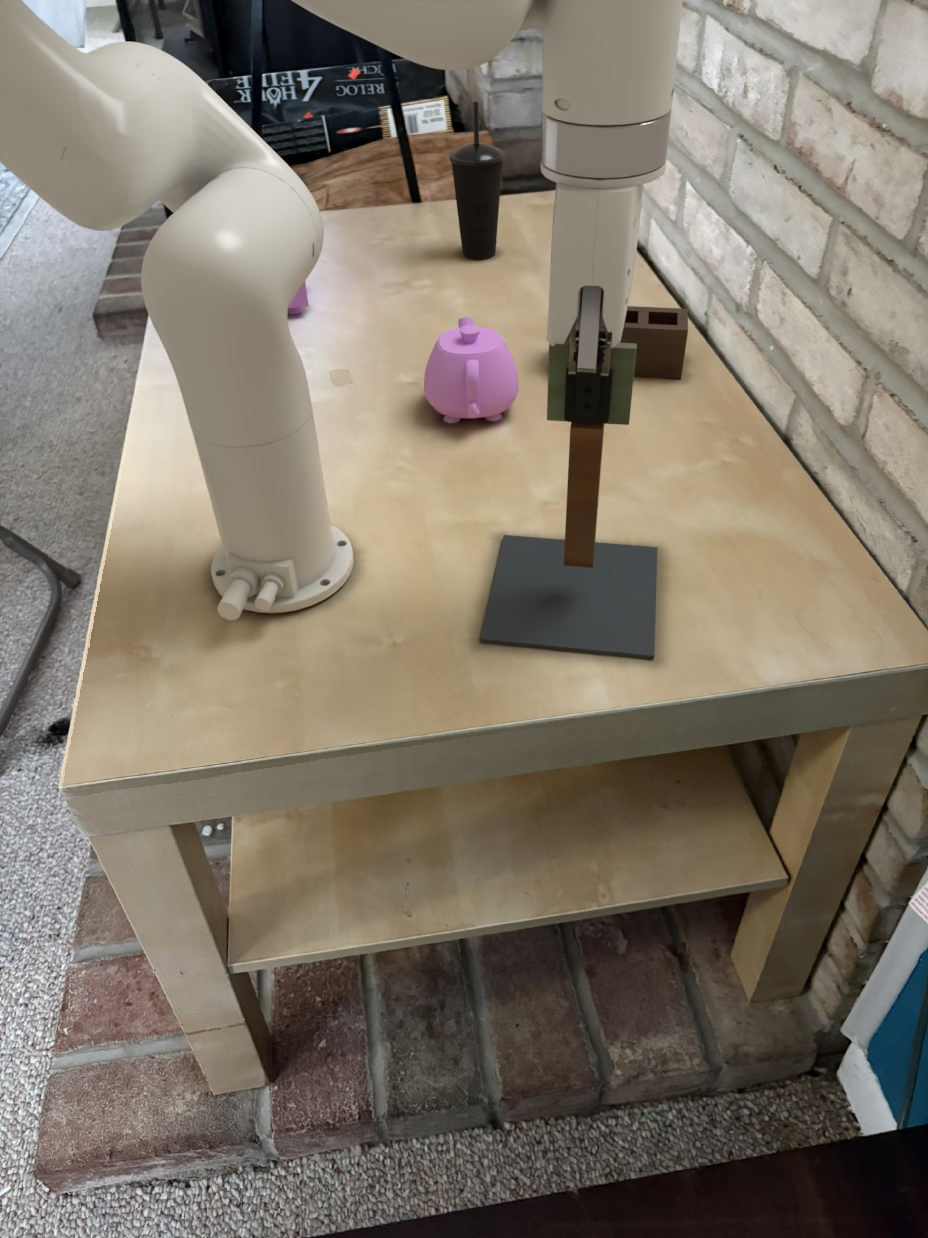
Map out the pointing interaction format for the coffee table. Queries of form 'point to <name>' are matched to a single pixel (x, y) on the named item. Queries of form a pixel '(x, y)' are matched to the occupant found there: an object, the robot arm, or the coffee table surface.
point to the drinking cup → (477, 194)
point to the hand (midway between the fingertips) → (587, 414)
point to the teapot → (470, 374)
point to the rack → (656, 340)
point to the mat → (573, 599)
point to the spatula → (587, 446)
